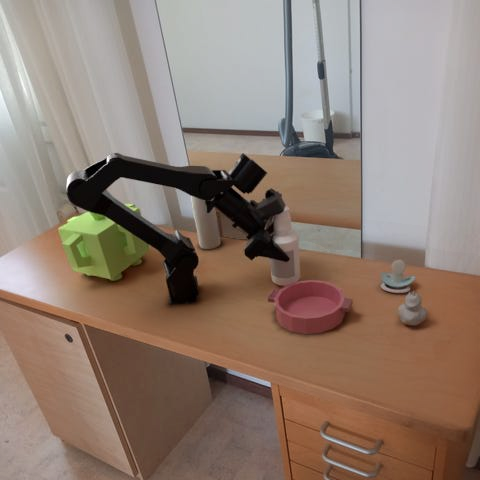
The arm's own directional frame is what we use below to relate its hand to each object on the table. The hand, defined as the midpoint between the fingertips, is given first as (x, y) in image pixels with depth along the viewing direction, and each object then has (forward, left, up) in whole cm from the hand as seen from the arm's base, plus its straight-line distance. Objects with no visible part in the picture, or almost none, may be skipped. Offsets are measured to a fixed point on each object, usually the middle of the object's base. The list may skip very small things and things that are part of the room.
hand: (290, 253), depth 113 cm
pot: (+3, -14, -8) cm, 16 cm away
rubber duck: (+23, -20, -8) cm, 31 cm away
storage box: (-48, +17, -8) cm, 52 cm away
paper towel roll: (-21, +25, -8) cm, 34 cm away
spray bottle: (-1, 0, -7) cm, 7 cm away
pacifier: (+23, -7, -8) cm, 25 cm away
